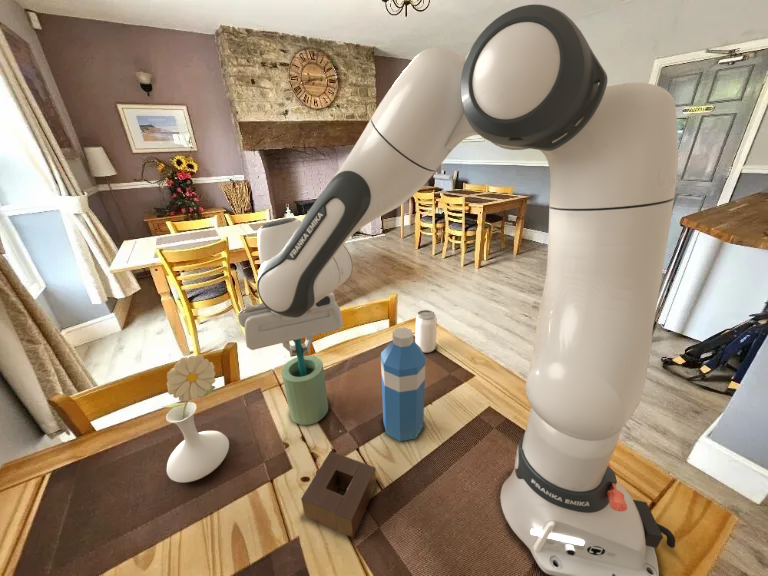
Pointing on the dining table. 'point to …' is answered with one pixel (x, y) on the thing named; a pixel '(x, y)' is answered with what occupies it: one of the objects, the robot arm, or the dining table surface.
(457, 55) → the robot arm
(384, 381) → the water bottle
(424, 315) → the can
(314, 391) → the jar
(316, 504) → the brush holder
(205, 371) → the flower in vase
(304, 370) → the bottle brush
